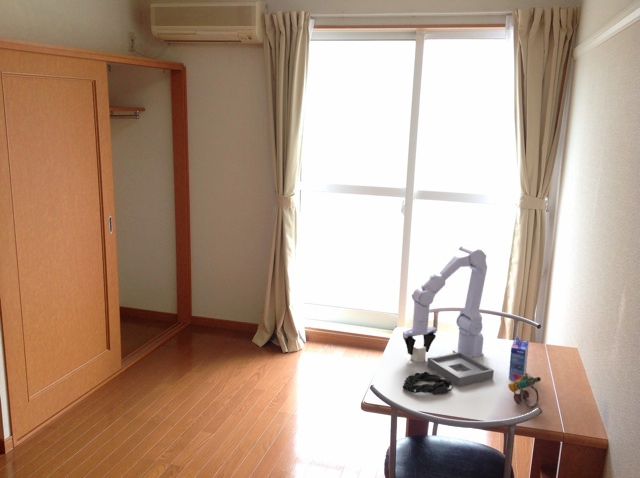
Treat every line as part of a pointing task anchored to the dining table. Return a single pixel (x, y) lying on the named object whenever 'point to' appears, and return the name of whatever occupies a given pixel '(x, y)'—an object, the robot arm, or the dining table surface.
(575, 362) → the dining table surface
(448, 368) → the walled box
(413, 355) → the white rectangular block
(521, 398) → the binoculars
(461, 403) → the dining table surface
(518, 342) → the ink cartridge box
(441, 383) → the cable
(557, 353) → the dining table surface
